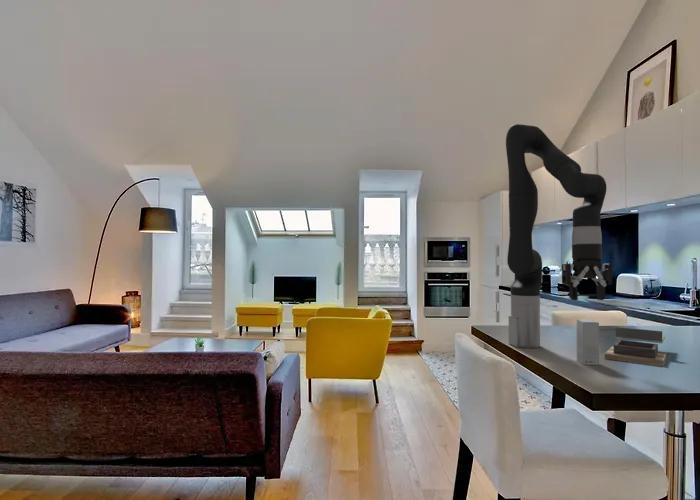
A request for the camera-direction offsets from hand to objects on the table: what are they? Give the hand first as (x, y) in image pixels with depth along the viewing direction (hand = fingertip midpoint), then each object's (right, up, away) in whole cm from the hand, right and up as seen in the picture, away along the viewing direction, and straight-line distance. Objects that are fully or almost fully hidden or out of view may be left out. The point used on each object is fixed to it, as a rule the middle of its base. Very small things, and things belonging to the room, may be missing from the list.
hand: (587, 299), depth 121 cm
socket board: (+18, -18, +5) cm, 26 cm away
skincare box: (0, -18, 0) cm, 18 cm away
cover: (+26, -14, +15) cm, 33 cm away
